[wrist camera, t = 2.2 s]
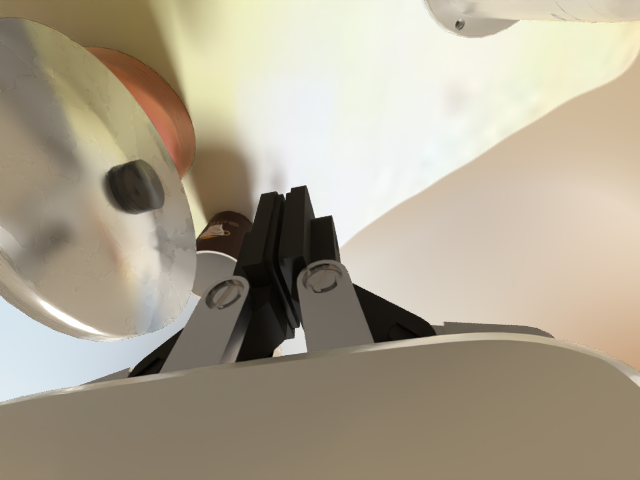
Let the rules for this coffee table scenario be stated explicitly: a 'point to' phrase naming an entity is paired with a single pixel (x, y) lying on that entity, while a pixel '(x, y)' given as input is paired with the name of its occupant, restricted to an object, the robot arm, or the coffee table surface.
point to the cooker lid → (85, 195)
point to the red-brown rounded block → (154, 104)
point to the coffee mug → (218, 249)
